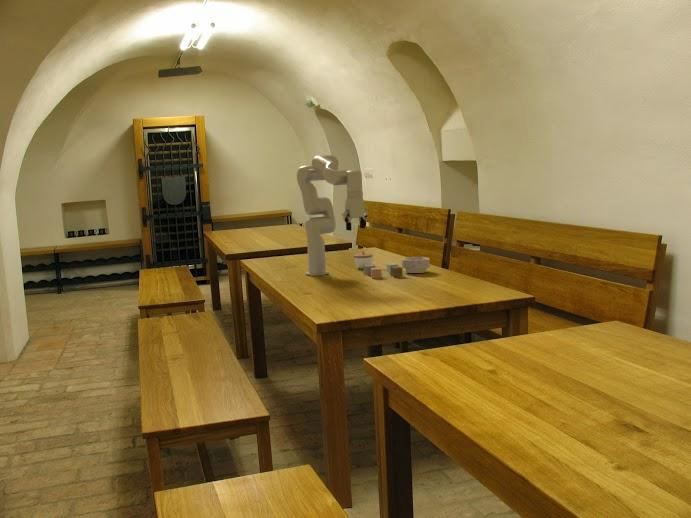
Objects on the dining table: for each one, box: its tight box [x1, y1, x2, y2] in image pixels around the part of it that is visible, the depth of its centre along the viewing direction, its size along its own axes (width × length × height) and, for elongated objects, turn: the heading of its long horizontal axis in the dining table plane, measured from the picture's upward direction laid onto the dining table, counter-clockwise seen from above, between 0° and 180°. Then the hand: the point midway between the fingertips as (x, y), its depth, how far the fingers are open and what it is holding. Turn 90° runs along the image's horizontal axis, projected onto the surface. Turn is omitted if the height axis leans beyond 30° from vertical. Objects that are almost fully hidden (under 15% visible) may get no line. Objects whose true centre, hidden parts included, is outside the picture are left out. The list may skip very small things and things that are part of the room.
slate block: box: [362, 264, 376, 276], centre depth 387 cm, size 5×5×5 cm
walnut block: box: [390, 265, 404, 278], centre depth 378 cm, size 5×5×5 cm
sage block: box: [385, 262, 399, 274], centre depth 390 cm, size 5×5×5 cm
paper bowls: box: [401, 256, 431, 274], centre depth 388 cm, size 15×15×8 cm
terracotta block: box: [370, 267, 383, 279], centre depth 377 cm, size 5×5×5 cm
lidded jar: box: [353, 251, 373, 270], centre depth 409 cm, size 11×11×9 cm
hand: (355, 229), depth 356 cm, fingers open, 9 cm apart
